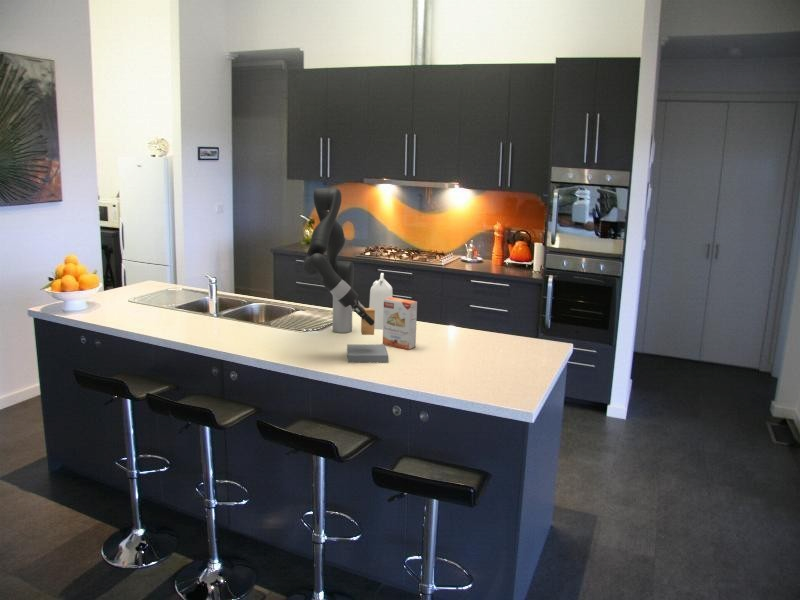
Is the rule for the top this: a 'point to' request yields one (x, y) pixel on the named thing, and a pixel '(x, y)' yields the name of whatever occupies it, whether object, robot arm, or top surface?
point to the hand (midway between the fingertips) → (372, 322)
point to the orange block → (365, 326)
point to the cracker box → (399, 323)
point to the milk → (379, 299)
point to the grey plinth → (367, 353)
